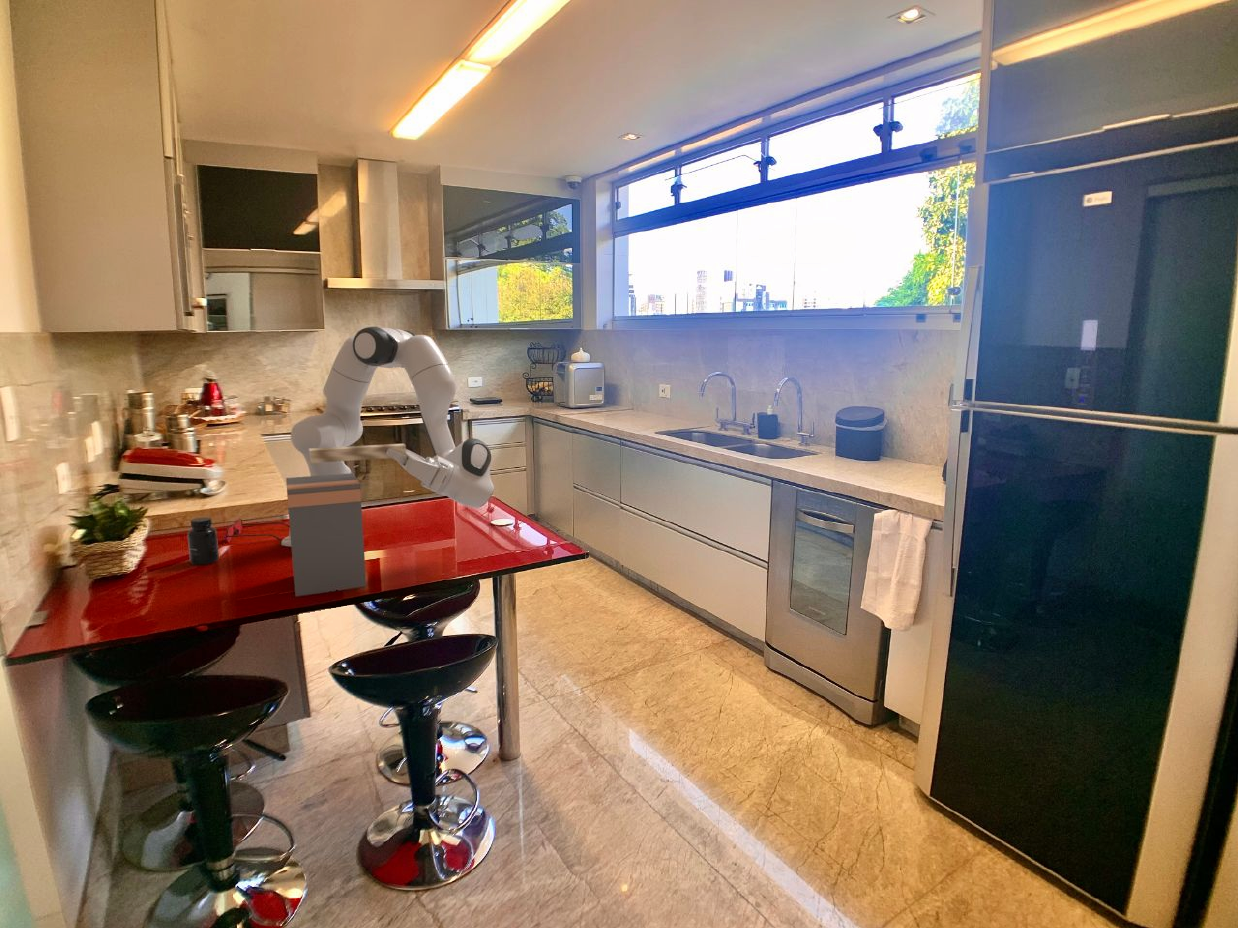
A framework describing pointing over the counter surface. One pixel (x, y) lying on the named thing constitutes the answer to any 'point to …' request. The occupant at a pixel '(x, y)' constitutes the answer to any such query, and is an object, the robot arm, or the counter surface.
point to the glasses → (239, 527)
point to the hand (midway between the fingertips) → (385, 449)
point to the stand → (326, 533)
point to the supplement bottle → (202, 542)
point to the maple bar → (353, 453)
